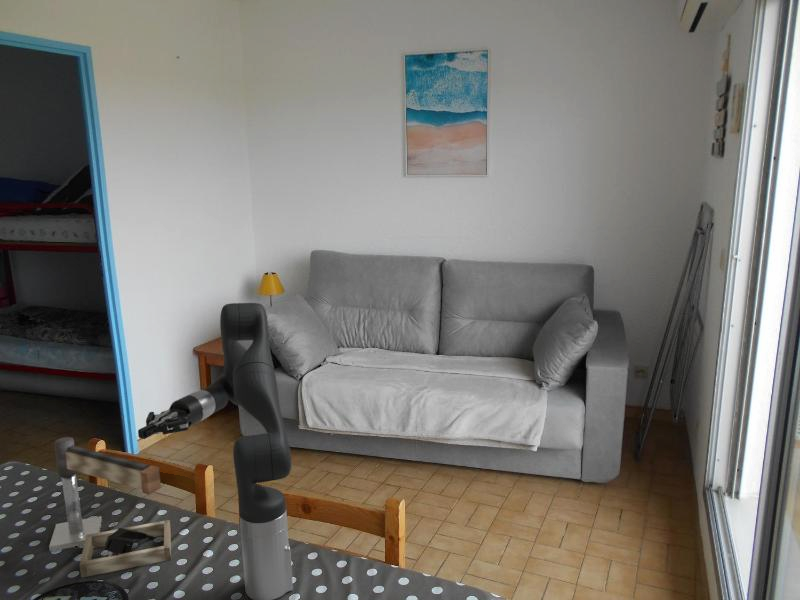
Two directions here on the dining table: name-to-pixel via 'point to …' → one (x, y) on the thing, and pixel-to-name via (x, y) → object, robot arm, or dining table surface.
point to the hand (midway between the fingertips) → (140, 434)
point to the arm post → (73, 520)
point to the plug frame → (126, 559)
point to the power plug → (123, 540)
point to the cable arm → (105, 466)
